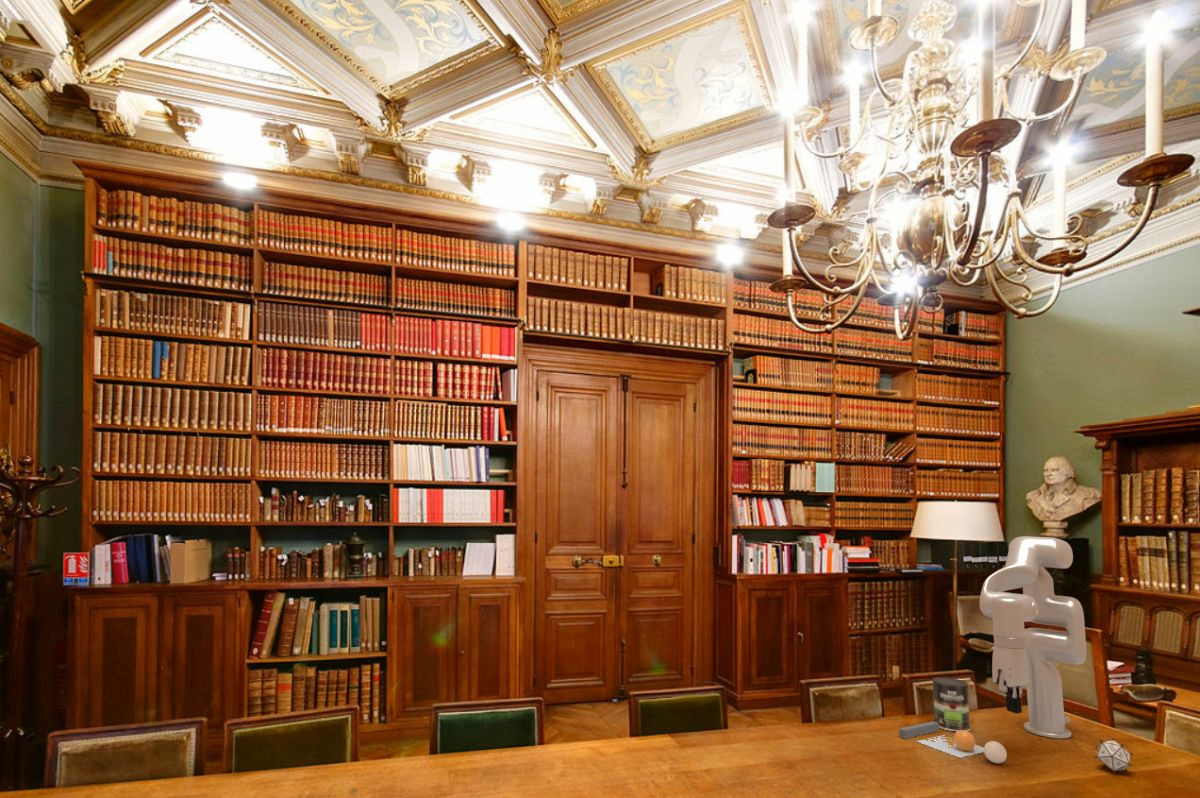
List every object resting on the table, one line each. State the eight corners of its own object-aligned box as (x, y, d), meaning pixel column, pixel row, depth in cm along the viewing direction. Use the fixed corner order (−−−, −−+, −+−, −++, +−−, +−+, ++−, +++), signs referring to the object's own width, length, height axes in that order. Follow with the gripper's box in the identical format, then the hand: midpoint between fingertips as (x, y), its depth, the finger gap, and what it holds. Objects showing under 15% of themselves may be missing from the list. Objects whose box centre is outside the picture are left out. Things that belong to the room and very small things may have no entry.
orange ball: (979, 753, 193) (961, 745, 198) (979, 733, 194) (962, 726, 199) (967, 755, 191) (949, 747, 196) (967, 735, 191) (950, 728, 196)
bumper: (933, 729, 212) (932, 721, 212) (939, 731, 210) (938, 723, 211) (899, 737, 205) (899, 728, 205) (905, 739, 203) (904, 730, 203)
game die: (1125, 788, 180) (1146, 765, 175) (1091, 773, 182) (1111, 749, 177) (1115, 760, 187) (1135, 738, 183) (1082, 746, 190) (1101, 723, 185)
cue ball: (1013, 748, 185) (1006, 765, 186) (993, 735, 189) (987, 751, 190) (1003, 752, 182) (997, 770, 183) (983, 739, 186) (977, 756, 187)
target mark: (945, 735, 207) (945, 734, 207) (990, 750, 195) (990, 749, 195) (916, 742, 201) (916, 741, 201) (959, 758, 188) (959, 757, 188)
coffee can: (972, 734, 208) (970, 687, 210) (936, 729, 212) (933, 683, 214) (968, 724, 218) (965, 679, 220) (933, 720, 221) (930, 675, 223)
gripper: (1011, 637, 193) (1016, 704, 190) (980, 642, 186) (984, 711, 183) (1039, 642, 186) (1044, 712, 184) (1007, 647, 179) (1011, 720, 177)
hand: (1014, 711), depth 184 cm, fingers closed
